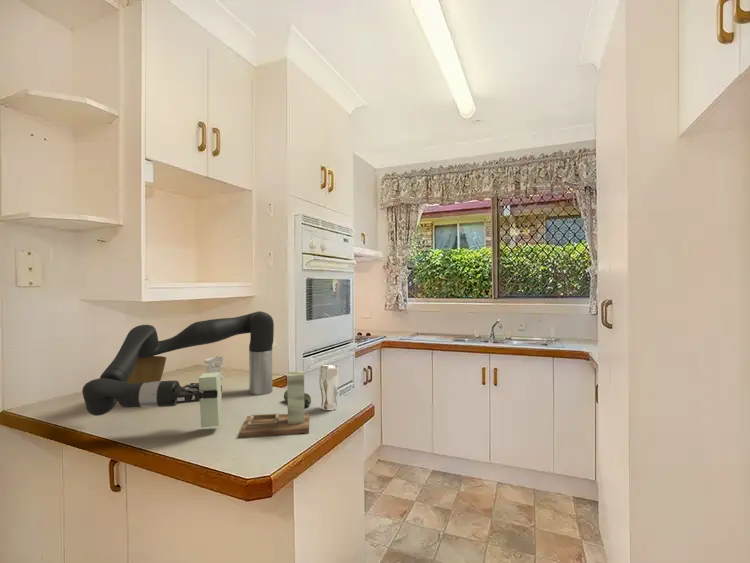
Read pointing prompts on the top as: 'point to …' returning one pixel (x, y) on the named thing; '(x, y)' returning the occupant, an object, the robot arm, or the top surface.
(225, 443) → the top surface
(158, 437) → the top surface
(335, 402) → the beer glass
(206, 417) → the sage pillar
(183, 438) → the top surface
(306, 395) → the vegetable
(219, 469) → the top surface
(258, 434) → the brown stand with socket
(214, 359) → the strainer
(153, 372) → the plant pot
